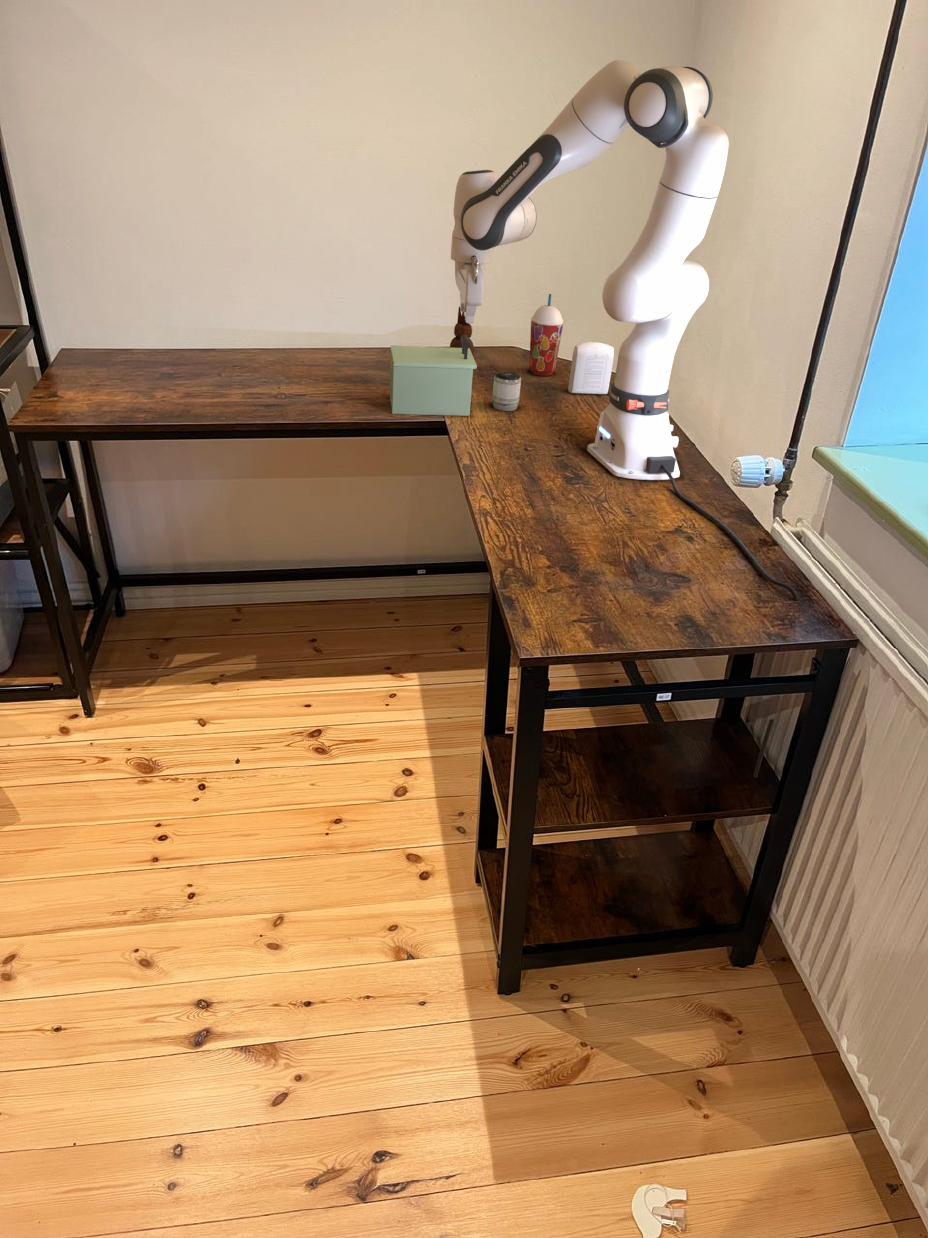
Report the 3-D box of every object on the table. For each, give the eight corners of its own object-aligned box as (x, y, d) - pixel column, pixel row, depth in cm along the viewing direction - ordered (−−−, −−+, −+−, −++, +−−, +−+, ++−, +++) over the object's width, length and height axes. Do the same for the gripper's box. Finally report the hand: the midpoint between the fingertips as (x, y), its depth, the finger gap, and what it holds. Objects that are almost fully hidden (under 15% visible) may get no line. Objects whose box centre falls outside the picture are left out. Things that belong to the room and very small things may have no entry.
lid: (469, 351, 225) (470, 329, 222) (476, 368, 213) (478, 346, 211) (390, 348, 222) (391, 326, 220) (393, 366, 211) (394, 343, 208)
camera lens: (486, 405, 226) (488, 372, 222) (506, 401, 229) (509, 368, 225) (503, 413, 222) (506, 379, 218) (523, 409, 225) (527, 376, 221)
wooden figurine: (445, 363, 252) (448, 305, 245) (465, 362, 255) (469, 304, 247) (455, 371, 247) (459, 311, 240) (476, 369, 249) (480, 310, 242)
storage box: (462, 396, 230) (465, 351, 225) (469, 415, 219) (473, 368, 213) (389, 394, 228) (390, 348, 222) (392, 413, 216) (393, 366, 211)
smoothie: (563, 372, 252) (572, 294, 242) (548, 379, 246) (557, 299, 236) (535, 365, 256) (543, 288, 246) (520, 372, 250) (527, 293, 240)
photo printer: (605, 389, 242) (612, 340, 236) (610, 395, 239) (617, 345, 232) (566, 388, 241) (572, 339, 234) (569, 394, 237) (576, 344, 231)
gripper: (492, 262, 198) (486, 330, 205) (480, 243, 215) (475, 306, 223) (462, 260, 197) (457, 328, 205) (452, 241, 215) (448, 304, 222)
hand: (466, 316), depth 214 cm, fingers open, 8 cm apart
